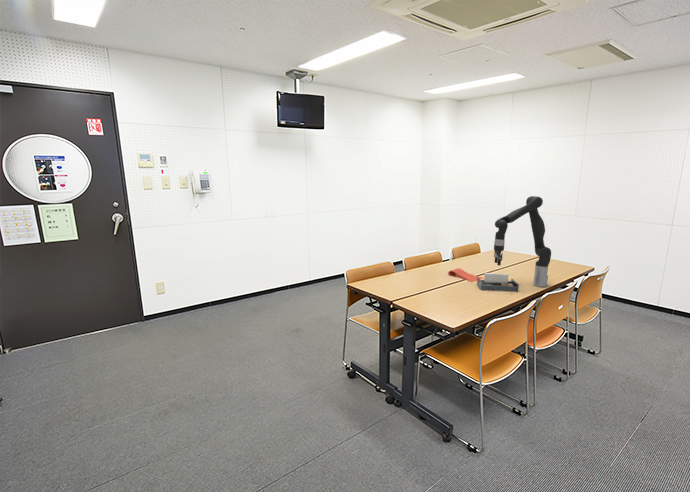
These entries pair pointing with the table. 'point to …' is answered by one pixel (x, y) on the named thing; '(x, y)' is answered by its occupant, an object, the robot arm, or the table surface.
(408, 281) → the table surface
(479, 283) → the rack
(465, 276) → the sheet
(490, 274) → the white flat board
